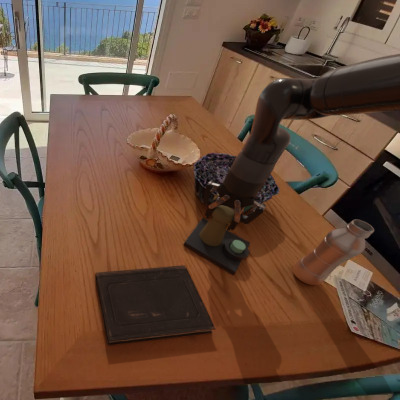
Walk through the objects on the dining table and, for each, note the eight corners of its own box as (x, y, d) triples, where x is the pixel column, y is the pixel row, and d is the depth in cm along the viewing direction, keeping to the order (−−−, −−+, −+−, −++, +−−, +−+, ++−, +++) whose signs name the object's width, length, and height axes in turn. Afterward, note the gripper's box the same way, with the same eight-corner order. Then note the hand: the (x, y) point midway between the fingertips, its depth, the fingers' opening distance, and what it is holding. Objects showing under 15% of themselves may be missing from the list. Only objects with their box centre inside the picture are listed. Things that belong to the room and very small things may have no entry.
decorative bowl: (272, 199, 94) (289, 176, 88) (248, 238, 78) (267, 213, 72) (203, 167, 107) (214, 145, 100) (170, 195, 90) (181, 170, 84)
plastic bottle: (294, 261, 73) (348, 209, 59) (322, 279, 69) (386, 228, 56) (285, 274, 70) (339, 222, 56) (313, 293, 66) (379, 243, 53)
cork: (222, 248, 73) (239, 220, 66) (199, 242, 74) (213, 214, 67) (221, 232, 77) (237, 205, 70) (199, 227, 79) (213, 199, 71)
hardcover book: (211, 333, 58) (215, 328, 56) (107, 345, 55) (109, 341, 53) (182, 269, 69) (184, 263, 68) (94, 276, 66) (95, 271, 65)
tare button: (244, 248, 72) (247, 244, 71) (240, 255, 70) (243, 251, 69) (232, 241, 74) (235, 237, 72) (228, 248, 72) (231, 244, 70)
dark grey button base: (250, 246, 76) (255, 240, 74) (235, 276, 69) (240, 270, 66) (201, 220, 83) (204, 213, 81) (183, 245, 75) (186, 238, 73)
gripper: (211, 165, 61) (187, 216, 73) (280, 194, 55) (241, 245, 66) (223, 152, 65) (198, 203, 77) (287, 178, 59) (250, 229, 70)
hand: (218, 222), depth 71 cm, fingers closed on cork, 5 cm apart
